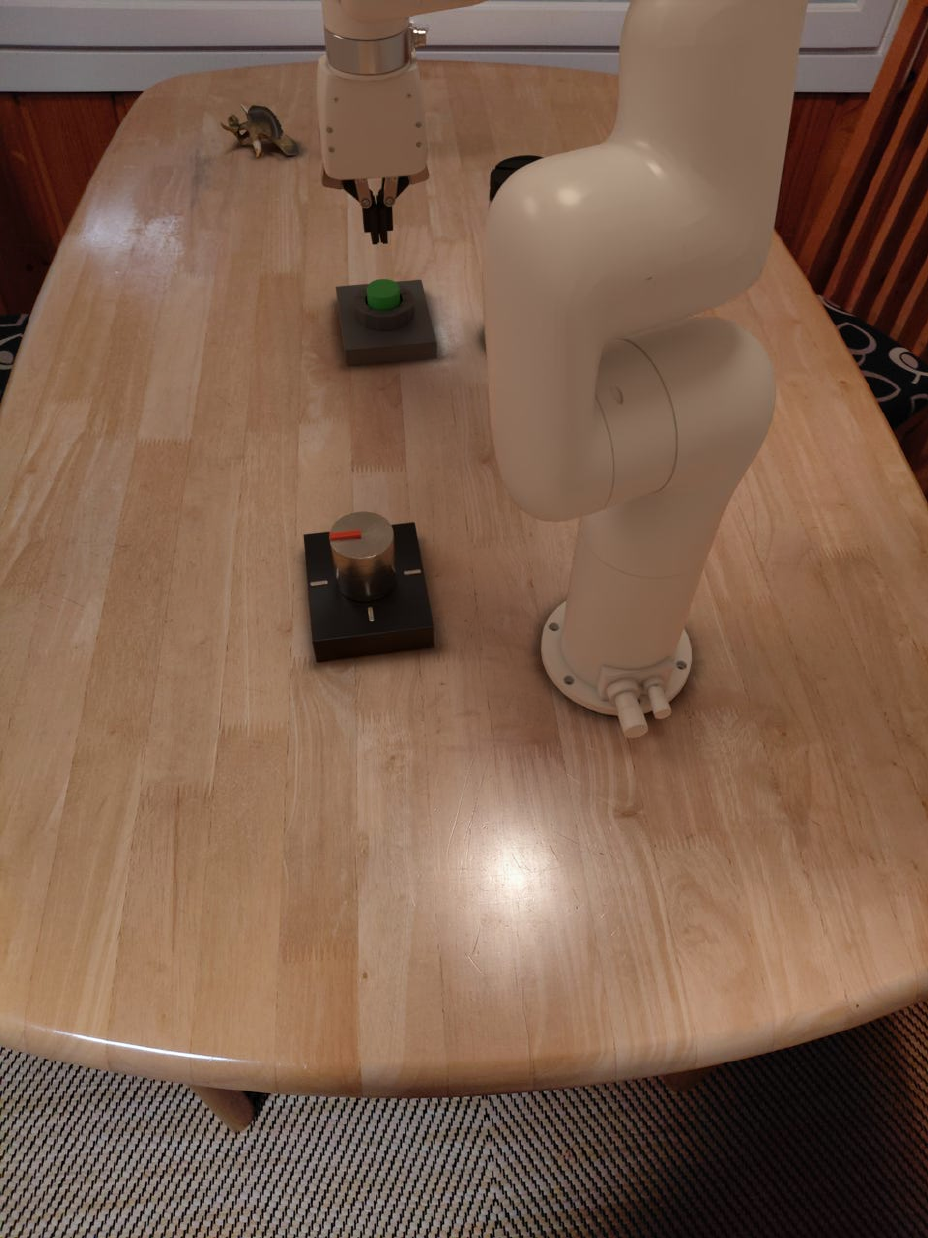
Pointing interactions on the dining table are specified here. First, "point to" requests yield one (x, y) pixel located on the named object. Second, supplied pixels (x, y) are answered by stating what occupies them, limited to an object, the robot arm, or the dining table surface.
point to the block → (385, 326)
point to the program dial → (363, 556)
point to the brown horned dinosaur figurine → (261, 129)
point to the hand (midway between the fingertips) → (378, 236)
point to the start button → (383, 294)
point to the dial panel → (368, 604)
